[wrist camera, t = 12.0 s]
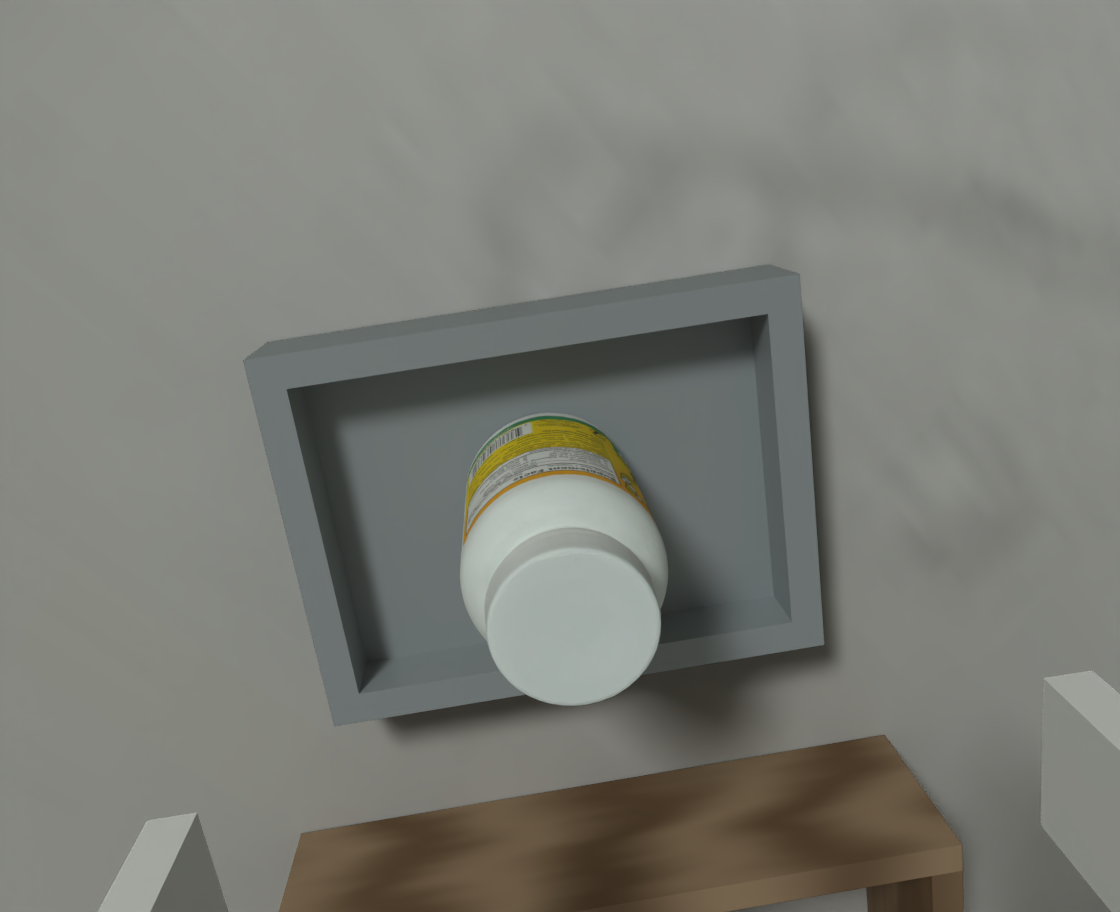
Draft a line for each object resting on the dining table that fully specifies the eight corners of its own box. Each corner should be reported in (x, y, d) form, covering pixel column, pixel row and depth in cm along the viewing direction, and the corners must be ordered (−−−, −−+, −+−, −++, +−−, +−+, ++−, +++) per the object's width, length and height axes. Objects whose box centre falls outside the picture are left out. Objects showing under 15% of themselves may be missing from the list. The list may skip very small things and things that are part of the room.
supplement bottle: (475, 399, 29) (468, 503, 20) (643, 419, 30) (712, 528, 20) (457, 558, 30) (443, 723, 21) (617, 574, 31) (671, 741, 22)
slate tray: (769, 264, 29) (799, 274, 27) (795, 604, 33) (824, 644, 30) (267, 342, 29) (242, 360, 26) (348, 677, 33) (334, 726, 30)
